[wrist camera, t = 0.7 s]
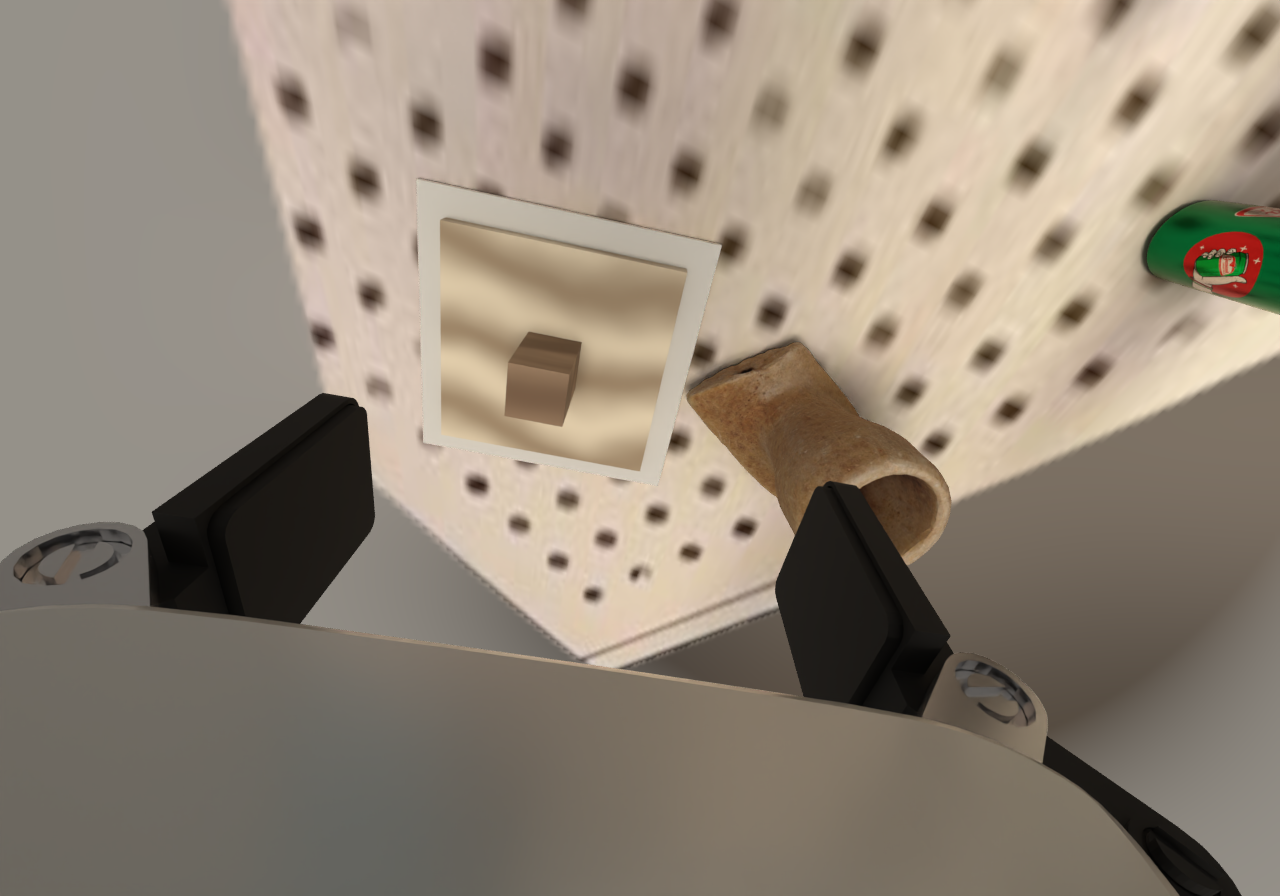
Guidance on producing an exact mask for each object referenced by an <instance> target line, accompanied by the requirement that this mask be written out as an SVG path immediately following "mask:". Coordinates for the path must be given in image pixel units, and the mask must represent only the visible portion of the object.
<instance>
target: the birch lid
mask: <svg viewBox="0 0 1280 896" xmlns="http://www.w3.org/2000/svg"><path fill="white" fill-rule="evenodd" d="M686 277H687V269H685V268H681V267H676V266H671V265H667V264H662V263H657V262H653V261H648V260H643V259H639V258H634V257H629V256H625V255H620V254H615V253H611V252H606V251H601V250H597V249H592V248H587V247H583V246H578V245H573V244H569V243H564V242H559V241H555V240H550V239H545V238H541V237H536V236H531V235H527V234H522V233H517V232H513V231H508V230H503V229H499V228H494V227H489V226H485V225H480V224H475V223H471V222H466V221H461V220H457V219H452V218H447V217H446V218H443V219H441V220H440V316H441V435H446V436H451V437H456V438H462V439H467V440H473V441H478V442H483V443H489V444H494V445H500V446H505V447H510V448H516V449H521V450H527V451H532V452H537V453H543V454H548V455H553V456H559V457H564V458H570V459H575V460H580V461H586V462H591V463H597V464H602V465H607V466H613V467H618V468H624V469H629V470H634V471H640V469H641V465H642V461H643V456H644V452H645V448H646V444H647V440H648V435H649V431H650V427H651V423H652V419H653V415H654V410H655V406H656V402H657V398H658V394H659V389H660V385H661V381H662V377H663V373H664V369H665V364H666V360H667V356H668V352H669V348H670V343H671V339H672V335H673V331H674V327H675V323H676V318H677V314H678V310H679V306H680V302H681V297H682V293H683V289H684V285H685V281H686Z"/></svg>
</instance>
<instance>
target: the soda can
mask: <svg viewBox="0 0 1280 896" xmlns="http://www.w3.org/2000/svg"><path fill="white" fill-rule="evenodd" d="M1147 264H1148V267H1149V270H1150V271H1151V272H1152V274H1153V275H1155V276H1156V277H1158V278H1160V279H1163V280H1166V281H1170V282H1173V283H1176V284H1180V285H1183V286H1186V287H1189V288H1193V289H1196V290H1199V291H1203V292H1206V293H1209V294H1213V295H1216V296H1219V297H1222V298H1226V299H1229V300H1232V301H1236V302H1239V303H1242V304H1246V305H1249V306H1252V307H1255V308H1259V309H1262V310H1265V311H1269V312H1272V313H1275V314H1279V315H1280V209H1279V208H1271V207H1264V206H1256V205H1248V204H1241V203H1233V202H1225V201H1218V200H1207V201H1201V202H1198V203H1195V204H1192V205H1190V206H1188V207H1186V208H1184V209H1182V210H1180V211H1179V212H1177V213H1176V214H1174V215H1173V216H1171V217H1170V218H1169V219H1168V220H1167V221H1166V222H1165V223H1164V224H1162V225H1161V227H1160V228H1159V229H1158V230H1157V231H1156V233H1155V234H1154V236H1153V238H1152V240H1151V242H1150V244H1149V247H1148V251H1147Z"/></svg>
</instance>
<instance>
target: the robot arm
mask: <svg viewBox="0 0 1280 896" xmlns="http://www.w3.org/2000/svg"><path fill="white" fill-rule="evenodd" d="M374 511H375V510H374V497H373V485H372V472H371V460H370V447H369V435H368V422H367V413H366V410H365V408H363V407H359V405H358V403H357V401H356V400H355V399H354V398H349V397H343V396H338V395H332V394H326V393H322V394H320V395H318V396H317V397H315V398H314V399H312V400H311V401H309V402H308V403H307V404H305V405H304V406H302V407H301V408H299V409H298V410H297V411H295V412H294V413H292V414H291V415H289V416H288V417H287V418H285V419H284V420H282V421H281V422H279V423H278V424H277V425H275V426H274V427H272V428H271V429H269V430H268V431H267V432H265V433H264V434H262V435H261V436H259V437H258V438H257V439H255V440H254V441H252V442H251V443H250V444H248V445H247V446H245V447H244V448H242V449H241V450H239V451H238V452H237V453H235V454H234V455H232V456H231V457H229V458H228V459H227V460H225V461H224V462H222V463H221V464H219V465H218V466H217V467H215V468H214V469H212V470H211V471H209V472H208V473H207V474H205V475H204V476H203V477H201V478H199V479H198V480H197V481H195V482H194V483H192V484H191V485H190V486H188V487H187V488H185V489H184V490H182V491H181V492H179V493H178V494H177V495H175V496H174V497H172V498H171V499H169V500H168V501H167V502H165V503H164V504H162V505H161V506H159V507H158V508H157V509H155V510H154V511H152V514H153V517H154V520H155V522H153V523H152V524H151V525H149V526H148V527H147V528H145V529H144V530H140V529H138V528H137V527H135V526H133V525H128V524H124V523H120V522H98V523H91V524H82V525H77V526H73V527H69V528H65V529H61V530H57V531H54V532H52V533H49V534H46V535H44V536H41V537H38V538H36V539H34V540H32V541H30V542H28V543H27V544H24V545H23V546H21V547H19V548H17V549H15V550H14V551H13V552H12V553H11V554H9V555H8V556H7V557H6V558H5V559H3V560H2V561H1V563H0V896H1241V894H1240V893H1239V891H1238V889H1237V887H1236V885H1235V884H1234V882H1233V881H1232V879H1231V878H1230V877H1229V876H1228V874H1227V873H1226V872H1225V871H1224V870H1223V868H1222V867H1221V866H1220V864H1219V863H1218V862H1217V861H1216V860H1215V859H1214V858H1213V857H1212V856H1211V855H1210V853H1208V851H1207V850H1206V849H1205V848H1203V846H1201V845H1200V844H1199V843H1198V842H1197V841H1195V840H1194V839H1193V838H1191V837H1190V836H1189V835H1188V834H1186V833H1185V832H1184V831H1182V830H1181V829H1180V828H1178V827H1177V826H1176V825H1174V824H1173V823H1172V822H1170V821H1169V820H1167V819H1166V818H1164V817H1163V816H1161V815H1160V814H1159V813H1157V812H1156V811H1154V810H1153V809H1151V808H1150V807H1148V806H1147V805H1146V804H1144V803H1143V802H1141V801H1140V800H1138V799H1137V798H1135V797H1134V796H1133V795H1131V794H1130V793H1128V792H1127V791H1125V790H1124V789H1122V788H1121V787H1120V786H1118V785H1117V784H1115V783H1114V782H1112V781H1111V780H1110V779H1108V778H1107V777H1105V776H1104V775H1102V774H1101V773H1099V772H1098V771H1097V770H1095V769H1094V768H1092V767H1091V766H1089V765H1088V764H1086V763H1085V762H1083V761H1082V760H1081V759H1079V758H1078V757H1076V756H1075V755H1073V754H1072V753H1071V752H1069V751H1068V750H1066V749H1065V748H1063V747H1062V746H1060V745H1059V744H1057V743H1056V742H1055V741H1053V740H1052V739H1050V738H1049V737H1048V736H1047V729H1048V721H1047V714H1046V712H1045V710H1044V707H1043V705H1042V703H1041V702H1040V700H1039V699H1038V698H1037V696H1036V695H1035V694H1034V692H1032V690H1031V689H1030V688H1029V687H1028V686H1027V685H1026V684H1025V683H1024V682H1023V681H1022V680H1021V679H1020V678H1019V677H1018V676H1016V675H1015V674H1013V673H1012V672H1011V671H1009V670H1008V669H1006V668H1005V667H1004V666H1002V665H1000V664H998V663H996V662H994V661H992V660H990V659H988V658H986V657H983V656H980V655H977V654H974V653H964V652H959V653H956V654H954V653H953V652H952V650H951V648H950V647H949V645H948V644H947V640H948V639H949V637H950V634H949V633H948V631H947V629H946V628H945V626H944V625H943V623H942V621H941V620H940V618H939V616H938V615H937V613H936V612H935V610H934V608H933V607H932V605H931V604H930V602H929V601H928V599H927V597H926V596H925V594H924V592H923V591H922V589H921V587H920V586H919V584H918V583H917V581H916V579H915V578H914V576H913V575H912V573H911V571H910V570H909V568H908V567H907V565H906V563H905V562H904V560H903V559H902V557H901V555H900V554H899V552H898V550H897V549H896V547H895V546H894V544H893V542H892V541H891V539H890V538H889V536H888V534H887V533H886V531H885V530H884V528H883V526H882V525H881V523H880V522H879V520H878V518H877V517H876V515H875V514H874V512H873V510H872V509H871V507H870V505H869V504H868V502H867V501H866V499H865V497H864V496H863V494H862V493H861V491H860V489H859V488H858V487H857V486H856V485H851V484H845V483H839V482H833V481H828V482H826V483H825V484H824V486H818V487H816V488H815V490H814V492H813V494H812V496H811V499H810V501H809V504H808V506H807V508H806V511H805V513H804V516H803V518H802V520H801V523H800V525H799V527H798V530H797V532H796V535H795V537H794V539H793V542H792V544H791V547H790V549H789V551H788V554H787V556H786V559H785V561H784V563H783V566H782V568H781V571H780V573H779V575H778V578H777V581H776V586H775V594H776V599H777V602H778V606H779V609H780V613H781V617H782V620H783V624H784V627H785V631H786V634H787V638H788V642H789V645H790V649H791V653H792V656H793V660H794V663H795V667H796V671H797V674H798V678H799V681H800V685H801V689H802V692H803V696H804V697H801V696H795V695H789V694H783V693H776V692H770V691H762V690H756V689H750V688H743V687H736V686H729V685H723V684H715V683H710V682H703V681H696V680H690V679H683V678H676V677H669V676H663V675H656V674H650V673H643V672H636V671H629V670H622V669H615V668H609V667H602V666H595V665H588V664H581V663H574V662H567V661H560V660H553V659H546V658H539V657H532V656H525V655H519V654H512V653H504V652H498V651H490V650H483V649H477V648H469V647H462V646H455V645H448V644H441V643H434V642H426V641H419V640H412V639H405V638H397V637H390V636H383V635H376V634H369V633H361V632H354V631H347V630H340V629H333V628H325V627H318V626H311V625H303V624H300V623H301V622H302V620H303V619H304V618H305V617H306V615H307V614H308V613H309V611H310V610H311V609H312V607H313V606H314V605H315V603H316V602H317V601H318V600H319V598H320V597H321V595H322V594H323V593H324V591H325V590H326V589H327V588H328V586H329V585H330V584H331V582H332V581H333V580H334V579H335V577H336V576H337V575H338V573H339V572H340V571H341V569H342V568H343V567H344V565H345V564H346V563H347V562H348V560H349V559H350V558H351V556H352V555H353V554H354V552H355V551H356V550H357V548H358V547H359V546H360V544H361V543H362V542H363V541H364V539H365V538H366V537H367V535H368V534H369V532H370V531H371V529H372V527H373V524H374V518H375V512H374Z"/></svg>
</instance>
